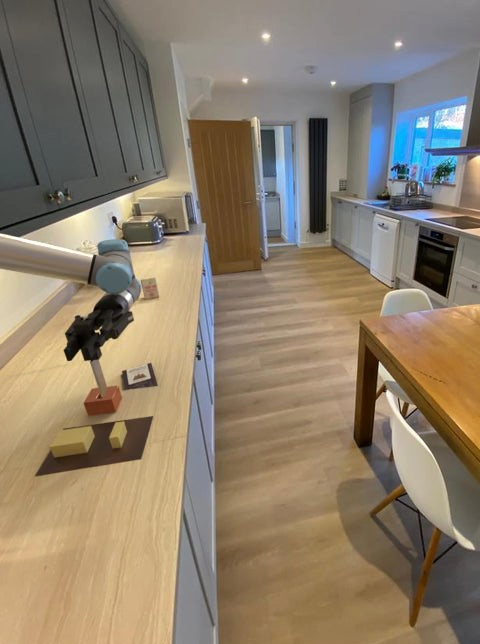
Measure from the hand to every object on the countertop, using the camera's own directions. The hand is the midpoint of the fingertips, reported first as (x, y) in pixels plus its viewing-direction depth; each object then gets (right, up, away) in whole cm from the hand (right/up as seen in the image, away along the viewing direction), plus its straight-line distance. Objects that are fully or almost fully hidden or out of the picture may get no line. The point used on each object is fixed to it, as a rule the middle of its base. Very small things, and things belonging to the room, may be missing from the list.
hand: (77, 354), depth 66 cm
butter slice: (+1, -23, +14) cm, 27 cm away
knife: (-1, -11, +11) cm, 15 cm away
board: (-3, -25, +14) cm, 29 cm away
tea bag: (-30, +14, +99) cm, 104 cm away
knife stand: (-9, -20, +25) cm, 33 cm away
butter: (-9, -24, +12) cm, 28 cm away
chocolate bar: (-5, -15, +36) cm, 39 cm away
